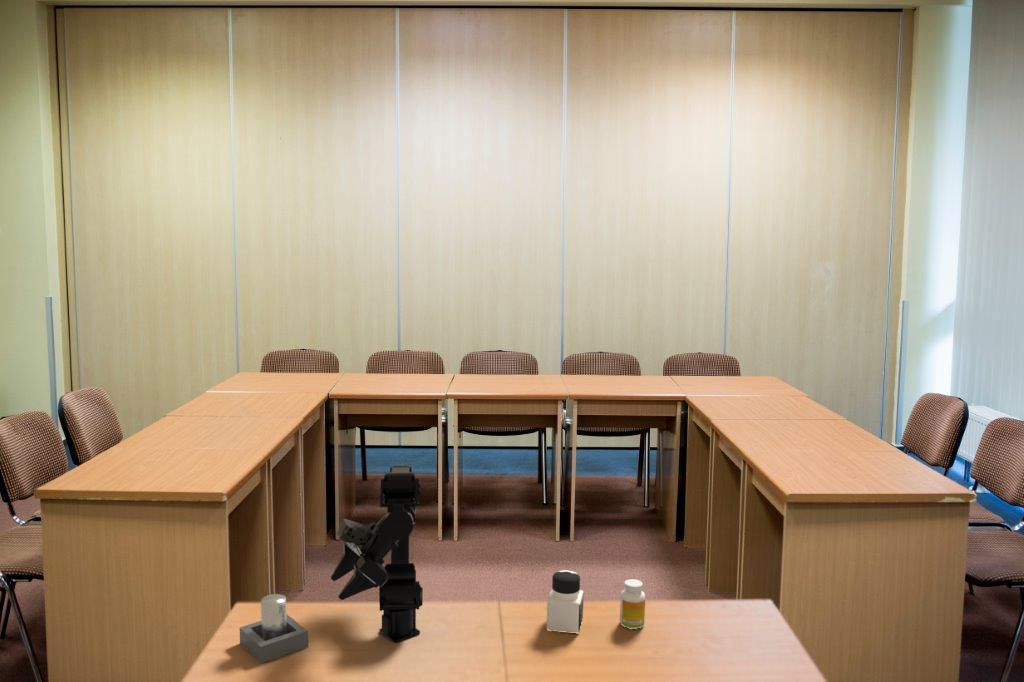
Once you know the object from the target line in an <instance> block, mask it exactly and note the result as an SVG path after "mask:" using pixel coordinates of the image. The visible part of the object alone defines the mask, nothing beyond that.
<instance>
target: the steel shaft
mask: <svg viewBox="0 0 1024 682" xmlns="http://www.w3.org/2000/svg"><path fill="white" fill-rule="evenodd" d="M260 615H261V616H260V619H261V620H260V621H261V624H262V639H263V640H264V641H267V640H270V639H273V638H276V637H279V636H282V635H285V634H287V615H288V613H287V596H286V595H284V594H281V593H271V594H268V595H264V596H263V597H262V598H261V599H260Z"/></svg>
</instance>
